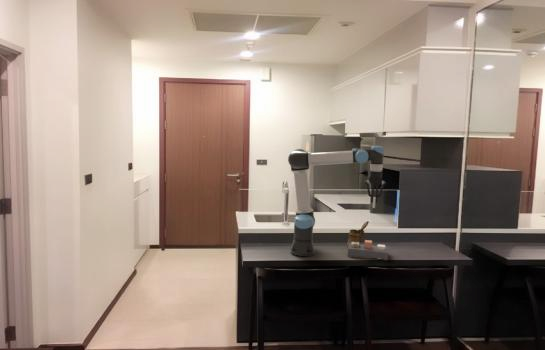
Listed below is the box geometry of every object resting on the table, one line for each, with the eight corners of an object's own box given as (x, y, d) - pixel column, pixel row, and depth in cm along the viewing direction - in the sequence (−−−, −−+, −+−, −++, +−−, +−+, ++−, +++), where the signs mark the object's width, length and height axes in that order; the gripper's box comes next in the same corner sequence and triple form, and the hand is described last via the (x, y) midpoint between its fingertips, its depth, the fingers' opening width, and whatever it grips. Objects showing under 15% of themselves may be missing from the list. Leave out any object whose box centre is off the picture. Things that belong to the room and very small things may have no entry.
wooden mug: (368, 249, 265) (370, 222, 262) (347, 248, 265) (349, 222, 263) (365, 245, 274) (367, 219, 271) (345, 244, 274) (347, 218, 272)
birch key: (351, 251, 253) (351, 243, 253) (351, 248, 258) (351, 241, 257) (358, 251, 252) (358, 244, 252) (358, 249, 257) (358, 242, 256)
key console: (347, 256, 250) (348, 248, 250) (348, 250, 262) (349, 242, 261) (387, 260, 245) (388, 252, 244) (386, 254, 257) (387, 246, 256)
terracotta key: (364, 249, 251) (364, 242, 251) (364, 247, 256) (364, 239, 255) (371, 250, 250) (372, 242, 250) (371, 248, 255) (372, 240, 254)
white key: (377, 253, 250) (377, 246, 249) (377, 251, 254) (377, 244, 253) (384, 254, 249) (385, 247, 248) (384, 252, 253) (385, 244, 252)
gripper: (365, 170, 250) (363, 207, 254) (387, 172, 247) (384, 209, 251) (365, 169, 258) (363, 205, 261) (386, 170, 255) (384, 207, 258)
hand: (373, 207), depth 256 cm, fingers closed
